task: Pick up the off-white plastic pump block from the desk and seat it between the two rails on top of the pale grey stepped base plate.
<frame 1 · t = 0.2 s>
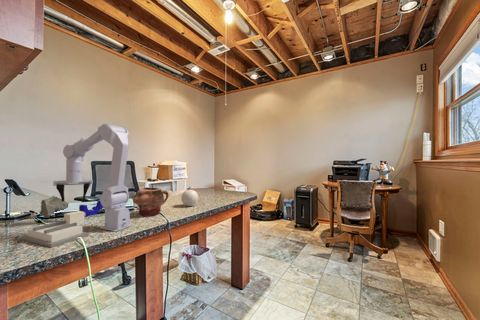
hand: (73, 200, 100), 10 cm above the table, tool pointing down, fingers open, 7 cm apart
ornament: (189, 206, 136), on the table
cable clip: (90, 214, 112), on the table
decorative planter: (152, 214, 115), on the table
stepped base plate: (55, 237, 80), on the table
mineral rock: (55, 215, 109), on the table
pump: (74, 223, 96), on the table
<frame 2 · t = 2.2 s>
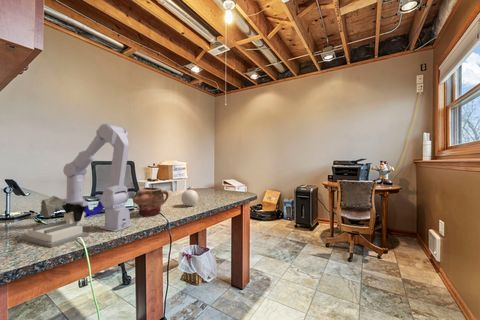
hand: (74, 220, 96), 1 cm above the table, tool pointing down, fingers closed on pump, 4 cm apart
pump: (74, 223, 96), on the table, touching gripper
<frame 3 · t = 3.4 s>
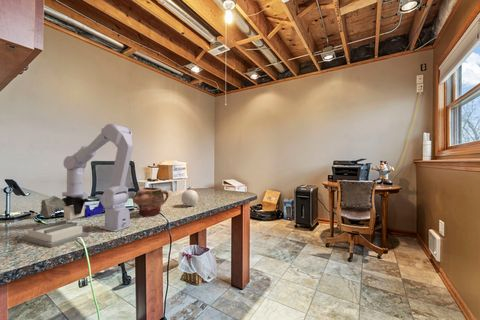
hand: (74, 213, 96), 5 cm above the table, tool pointing down, fingers closed on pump, 4 cm apart
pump: (74, 216, 96), point 3 cm above the table, touching gripper
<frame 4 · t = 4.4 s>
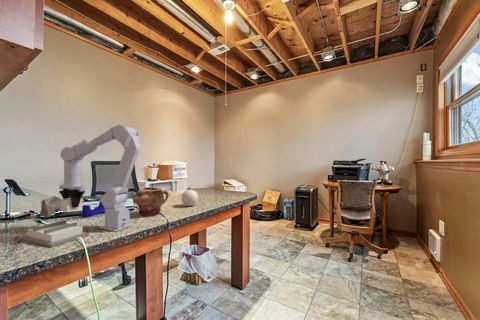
hand: (71, 206, 93), 8 cm above the table, tool pointing down, fingers closed on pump, 4 cm apart
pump: (71, 210, 93), point 7 cm above the table, touching gripper
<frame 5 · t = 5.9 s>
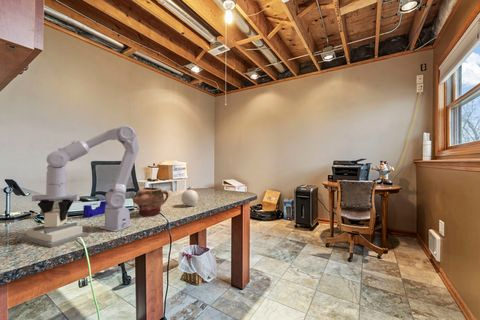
hand: (56, 220, 80), 6 cm above the table, tool pointing down, fingers closed on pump, 4 cm apart
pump: (56, 224, 80), point 5 cm above the table, touching gripper
when the fingers open (5 cm above the table, at t = 6.9 s): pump stays where it is, resting on stepped base plate.
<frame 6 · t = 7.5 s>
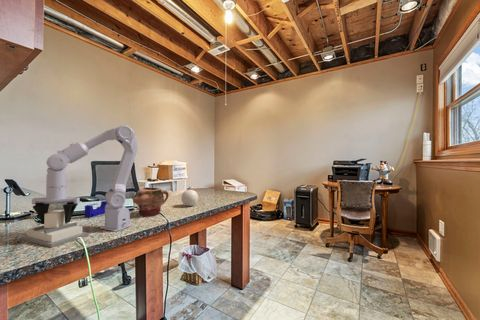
hand: (56, 222, 80), 5 cm above the table, tool pointing down, fingers open, 7 cm apart
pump: (56, 225, 80), point 4 cm above the table, touching stepped base plate
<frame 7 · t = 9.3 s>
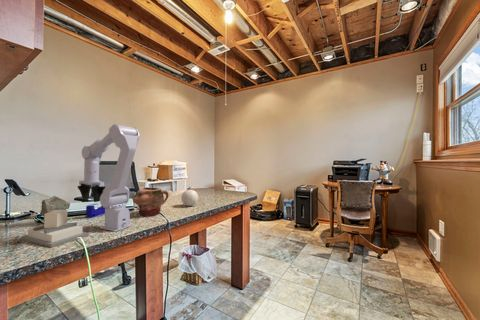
hand: (91, 200, 101), 9 cm above the table, tool pointing down, fingers open, 7 cm apart
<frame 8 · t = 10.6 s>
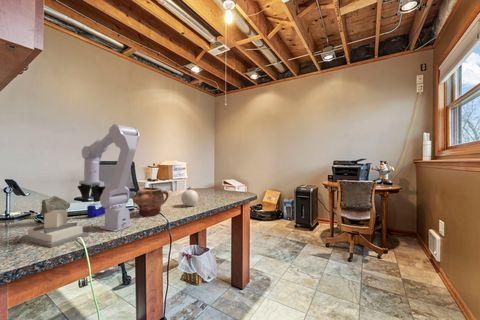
hand: (91, 200, 101), 9 cm above the table, tool pointing down, fingers open, 7 cm apart
at the end: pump 0.1 cm off-centre on the stepped base plate, point 4.5 cm above the stepped base plate's base; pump tilted 0°; the gripper is holding nothing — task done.
